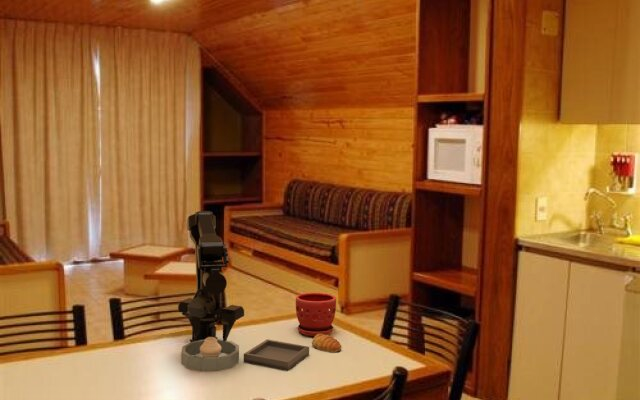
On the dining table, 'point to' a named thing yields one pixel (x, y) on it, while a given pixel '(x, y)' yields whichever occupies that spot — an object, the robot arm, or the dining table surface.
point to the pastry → (326, 343)
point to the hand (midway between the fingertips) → (210, 338)
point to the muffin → (210, 348)
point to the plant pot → (315, 313)
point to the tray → (276, 354)
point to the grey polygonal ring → (210, 362)
